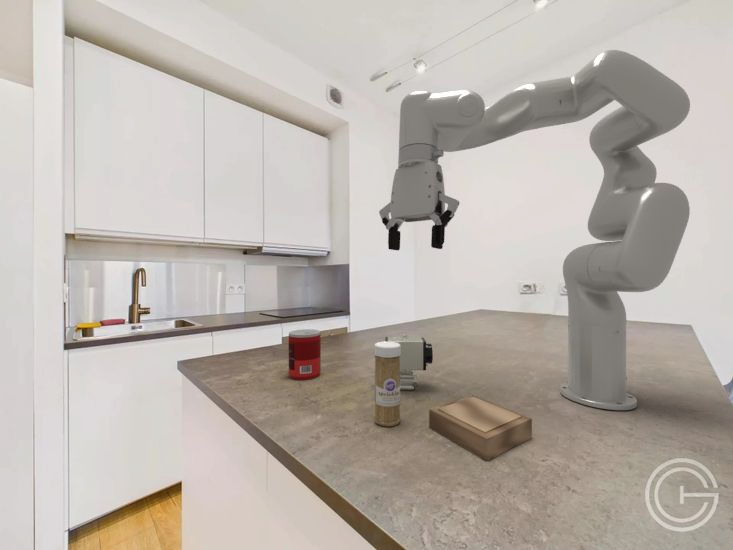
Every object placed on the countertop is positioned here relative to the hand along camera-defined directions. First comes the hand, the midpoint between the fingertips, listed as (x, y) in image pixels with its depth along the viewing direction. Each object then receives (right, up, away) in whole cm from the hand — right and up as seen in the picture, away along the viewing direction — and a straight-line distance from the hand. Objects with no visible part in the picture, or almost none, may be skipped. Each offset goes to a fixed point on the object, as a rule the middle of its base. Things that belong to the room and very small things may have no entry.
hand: (414, 249), depth 60 cm
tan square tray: (+9, -30, -11) cm, 33 cm away
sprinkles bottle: (-6, -31, -7) cm, 32 cm away
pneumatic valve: (-1, -31, +10) cm, 32 cm away
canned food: (-25, -31, +18) cm, 43 cm away
